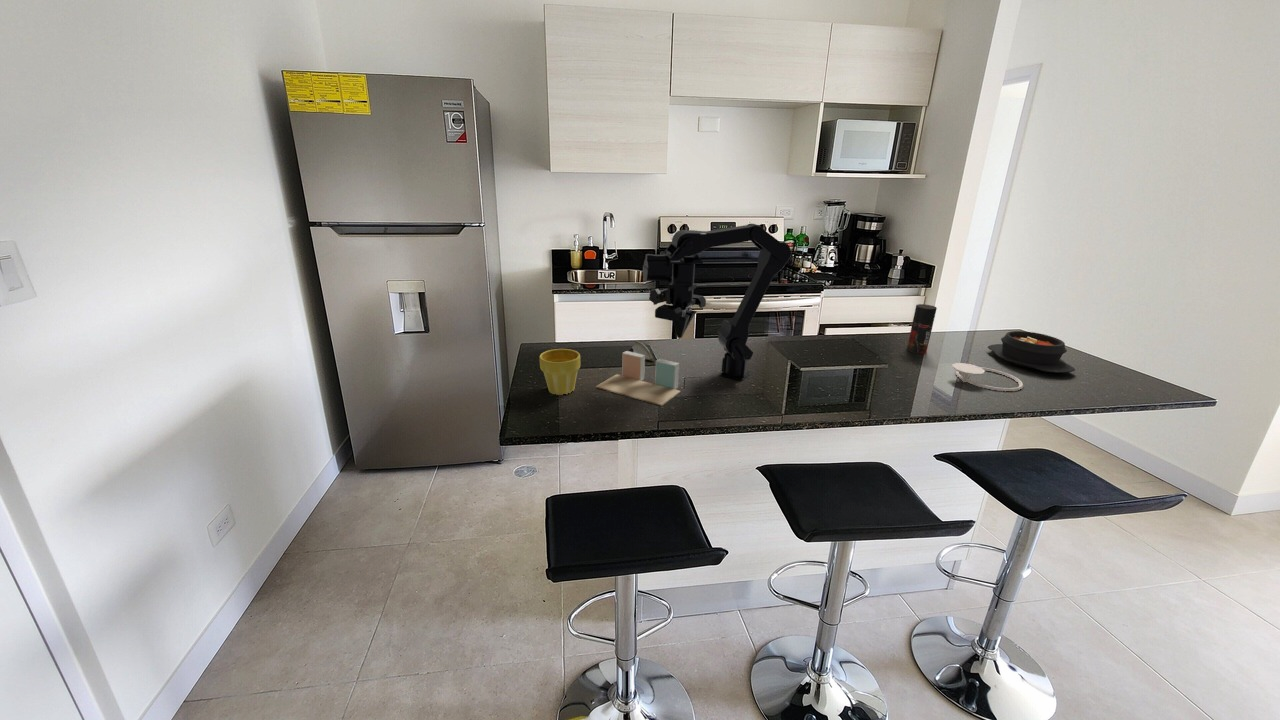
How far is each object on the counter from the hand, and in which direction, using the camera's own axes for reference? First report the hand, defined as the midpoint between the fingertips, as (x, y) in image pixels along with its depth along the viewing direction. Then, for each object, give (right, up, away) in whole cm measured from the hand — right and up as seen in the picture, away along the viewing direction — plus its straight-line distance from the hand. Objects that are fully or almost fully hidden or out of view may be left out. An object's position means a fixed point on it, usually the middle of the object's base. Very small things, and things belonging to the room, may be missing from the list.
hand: (679, 337), depth 145 cm
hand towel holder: (+88, -12, +9) cm, 89 cm away
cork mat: (-11, -14, -4) cm, 18 cm away
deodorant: (+81, -3, +32) cm, 87 cm away
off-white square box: (-4, -13, -1) cm, 14 cm away
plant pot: (-31, -14, -5) cm, 35 cm away
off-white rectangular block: (-13, -11, +4) cm, 17 cm away
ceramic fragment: (-10, -5, +22) cm, 25 cm away
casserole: (+111, -7, +24) cm, 114 cm away
